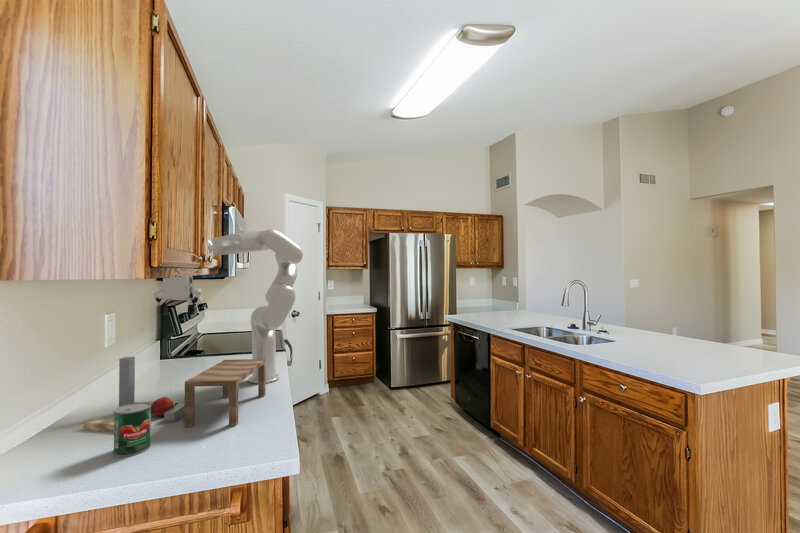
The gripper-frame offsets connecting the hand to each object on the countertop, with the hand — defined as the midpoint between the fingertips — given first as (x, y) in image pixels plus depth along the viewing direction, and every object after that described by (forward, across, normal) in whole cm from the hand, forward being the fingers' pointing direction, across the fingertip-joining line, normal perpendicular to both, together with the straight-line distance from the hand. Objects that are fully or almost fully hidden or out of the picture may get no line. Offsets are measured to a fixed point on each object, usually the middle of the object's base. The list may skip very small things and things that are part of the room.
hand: (177, 315), depth 142 cm
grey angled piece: (+30, -2, +20) cm, 36 cm away
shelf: (+30, -26, +16) cm, 43 cm away
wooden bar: (+31, +4, +30) cm, 43 cm away
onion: (+27, -10, +20) cm, 35 cm away
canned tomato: (+31, -12, +44) cm, 55 cm away
